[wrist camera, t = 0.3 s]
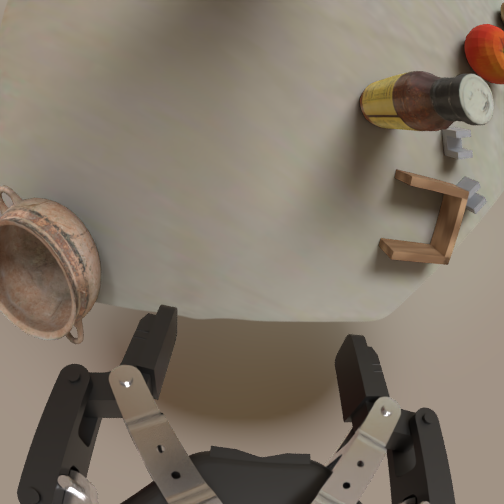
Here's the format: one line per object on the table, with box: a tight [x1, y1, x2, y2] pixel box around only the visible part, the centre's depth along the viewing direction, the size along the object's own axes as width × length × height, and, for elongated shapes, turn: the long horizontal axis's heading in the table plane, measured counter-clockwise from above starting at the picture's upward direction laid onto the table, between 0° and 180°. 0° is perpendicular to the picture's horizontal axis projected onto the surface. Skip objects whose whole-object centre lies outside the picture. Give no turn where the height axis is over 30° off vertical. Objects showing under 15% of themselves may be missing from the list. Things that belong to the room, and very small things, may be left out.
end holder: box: [379, 169, 469, 265], centre depth 37 cm, size 11×11×4 cm
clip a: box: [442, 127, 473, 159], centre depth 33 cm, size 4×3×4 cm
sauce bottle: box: [360, 71, 494, 131], centre depth 24 cm, size 6×6×20 cm
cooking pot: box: [0, 185, 101, 344], centre depth 34 cm, size 25×19×12 cm
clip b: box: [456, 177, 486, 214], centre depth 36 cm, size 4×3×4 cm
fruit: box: [465, 24, 504, 84], centre depth 23 cm, size 10×10×10 cm
